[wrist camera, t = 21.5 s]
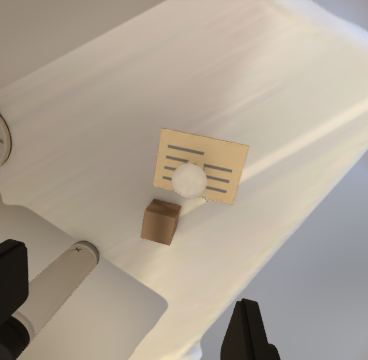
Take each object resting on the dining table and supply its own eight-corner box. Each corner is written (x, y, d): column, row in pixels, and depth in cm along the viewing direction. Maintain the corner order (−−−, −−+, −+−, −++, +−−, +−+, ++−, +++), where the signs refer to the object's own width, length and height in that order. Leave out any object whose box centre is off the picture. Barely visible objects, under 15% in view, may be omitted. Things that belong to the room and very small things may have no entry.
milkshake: (202, 189, 35) (196, 214, 26) (176, 170, 35) (161, 188, 25) (219, 168, 34) (219, 186, 24) (192, 148, 34) (182, 159, 24)
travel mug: (81, 233, 42) (-32, 327, 23) (105, 256, 42) (14, 365, 23) (65, 251, 44) (-52, 350, 25) (88, 272, 44) (-9, 385, 25)
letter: (153, 185, 37) (152, 186, 36) (162, 128, 34) (161, 128, 33) (232, 204, 35) (232, 205, 35) (248, 146, 32) (249, 146, 32)
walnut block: (149, 223, 39) (140, 237, 34) (154, 199, 37) (144, 210, 33) (175, 230, 39) (169, 245, 34) (181, 205, 37) (175, 218, 32)
